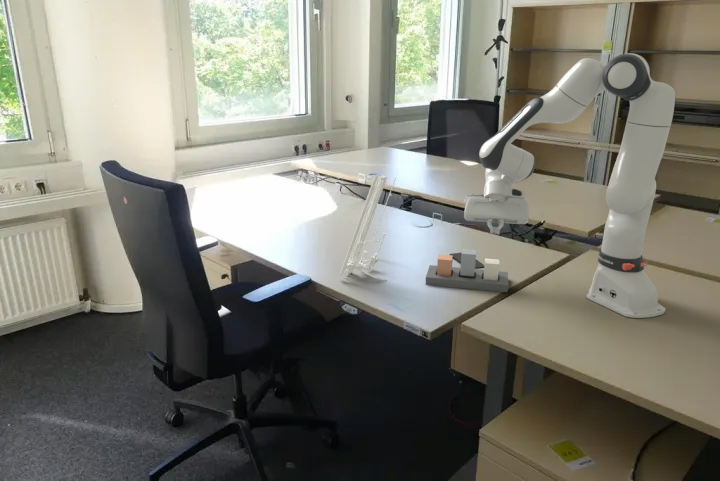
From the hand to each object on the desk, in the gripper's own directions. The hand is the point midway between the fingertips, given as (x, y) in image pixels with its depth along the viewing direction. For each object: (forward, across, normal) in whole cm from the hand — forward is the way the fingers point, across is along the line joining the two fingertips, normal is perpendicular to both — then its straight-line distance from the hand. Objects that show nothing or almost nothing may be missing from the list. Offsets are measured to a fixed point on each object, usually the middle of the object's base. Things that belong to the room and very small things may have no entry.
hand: (494, 233), depth 169 cm
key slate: (+10, -8, +10) cm, 16 cm away
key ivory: (+12, 0, +12) cm, 17 cm away
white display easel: (+12, -39, +13) cm, 43 cm away
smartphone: (0, -9, +26) cm, 27 cm away
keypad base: (+13, -8, +12) cm, 19 cm away
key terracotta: (+12, -15, +12) cm, 23 cm away
